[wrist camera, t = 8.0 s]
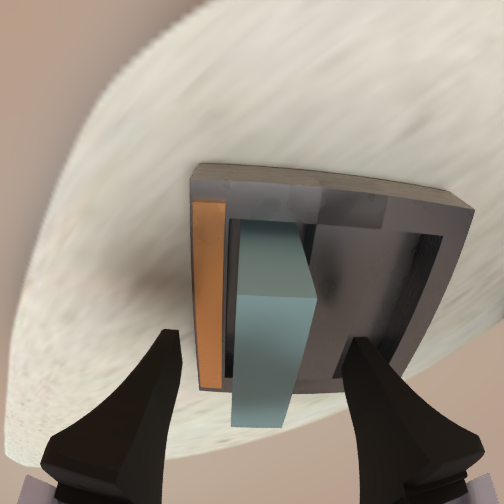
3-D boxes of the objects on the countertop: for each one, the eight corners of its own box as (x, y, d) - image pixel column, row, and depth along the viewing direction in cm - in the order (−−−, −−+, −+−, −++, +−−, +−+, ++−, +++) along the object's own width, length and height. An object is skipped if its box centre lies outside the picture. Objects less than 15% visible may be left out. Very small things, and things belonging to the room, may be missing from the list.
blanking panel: (294, 222, 14) (317, 298, 9) (275, 347, 18) (281, 427, 13) (241, 218, 14) (236, 294, 9) (234, 345, 18) (231, 426, 13)
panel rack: (449, 191, 14) (478, 212, 11) (384, 361, 20) (395, 390, 18) (199, 163, 13) (188, 181, 11) (203, 361, 20) (198, 394, 17)
